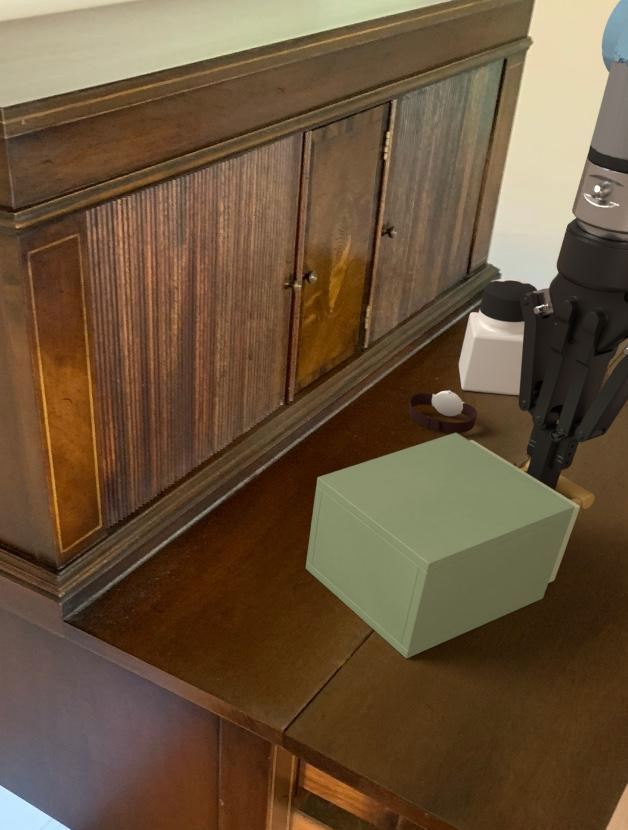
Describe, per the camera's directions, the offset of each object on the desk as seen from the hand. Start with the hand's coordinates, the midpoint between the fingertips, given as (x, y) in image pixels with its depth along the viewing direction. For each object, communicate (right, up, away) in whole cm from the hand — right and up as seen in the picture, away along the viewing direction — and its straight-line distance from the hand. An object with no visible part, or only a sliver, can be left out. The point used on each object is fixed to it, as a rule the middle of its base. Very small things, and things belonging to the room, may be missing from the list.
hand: (537, 493), depth 83 cm
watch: (-3, +10, +21) cm, 24 cm away
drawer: (-6, -6, 0) cm, 8 cm away
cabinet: (-11, -8, -1) cm, 14 cm away
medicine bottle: (+6, +17, +30) cm, 35 cm away
